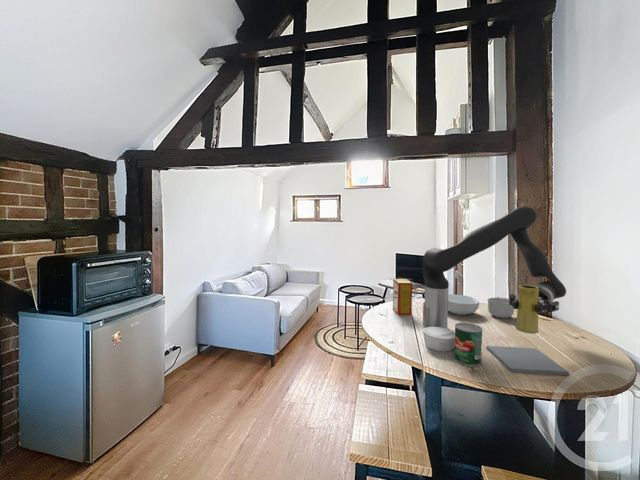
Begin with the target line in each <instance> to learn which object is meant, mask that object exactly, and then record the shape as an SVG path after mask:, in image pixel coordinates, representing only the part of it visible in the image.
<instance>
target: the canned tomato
mask: <svg viewBox="0 0 640 480" xmlns="http://www.w3.org/2000/svg"><path fill="white" fill-rule="evenodd" d="M454 332H455V342H454V343H455V344H454V348H453V351H454V352H453V360H454V361H455V362H457V363H459V364H462V365H464V366H469V367H478V366H480V365H481V364H482V345H483V328H482V327H481V326H479V325H477V324H474V323H467V322H457V323H455V325H454Z"/></svg>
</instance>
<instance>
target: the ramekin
mask: <svg viewBox="0 0 640 480" xmlns="http://www.w3.org/2000/svg"><path fill="white" fill-rule="evenodd" d="M422 334H423V339H424V345H425V346H426V347H427V348H428V349H431V350H433V351H435V352H436V351H437V352H450V351H452V350H454V344H455V343H454V342H455V331H454V330H451V329H449V328H447V329H446V328H441V327H427V328H425V327H424V328H423V329H422Z"/></svg>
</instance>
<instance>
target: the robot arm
mask: <svg viewBox="0 0 640 480" xmlns="http://www.w3.org/2000/svg"><path fill="white" fill-rule="evenodd" d="M537 217H538V215H537V211H535V209H534V208H532V207H529V206H519V207H516V208H514V209H513V210H512V211H510V212H508V213H507V214H506V215H504V216H502V217H501V218H498V219H496V220H493V221H491V222H489V223H487V224H484V225H481V226H480V227H478V228H476V229H474V230H471V231H470V232H468V233H467V234H465V236H463V238H462V239H461V241H460V242H459V243H457V244H454V245H452V246H449V247H447V248H445V249H442V248H441V249H440V248H433V247H432V248H429V249H427V250H426V251H425V253H424V255H423V258H422V275H423V280H424V301H423V303H422V307H423V308H422V324H423V326H424V328H427V327H441V328H446V329H448V323H449V322H448V319H449V317H448V316H449V311H448V295H449V286H450V284H449V283H450V282H449V280H448V279H447V278H446V277H445V274H444V272H448V271H450V270H451V269H452V268H453V269H454V267H456V266H457V265H458V264H459V265H460V263H461V262H463V261H465V260H467V259H469V258H471V257H474V256H475V255H477V254H479V253H481V252H484V251H485V250H487V249H489V248H491V247H493V246H495V245H496V244H498V243H499V242H500V241H502V240H503V239H504V238H506V237H507V236H509V235H510V236H511V238H512V239H513V241H514V242H515V244H516V245H517V247H518V249H519V251H520V253H521V255H522V257H523V259H524V261H525V263H526V266H527V270H528V271H529V273H530V276H531V277H533V278H546V279H548V280H545V281H542V282H537V283H534V284H532V285H531V286H536V287H538V288H539V296H538V305H537V306H536V313H538V314H540V313H543V312H545V311H547V312H548V313H553V312H557V311H559V310H560V302H559V301H554V300H555V299H560V298H563V297H565V296H566V294H567V289H566V287H565V285H564V284H563V282H561V280H560V279H559V278H558V276H556V274H555V273H554V272H553V270H552V268H551V266H550V264H549V261H548V259H547V257H546V255H545V254H544V252H543V251H542V250H541V248H539V247H538V246H537V245H536V244H535V243H533V241H532V240H531V238H530V236H529V233H528V231H527V230H528V229H529V228H530V227H531V226H533V224H535V222H536V220H537ZM508 299H509V305H512V307H513V308H514V310H515V309H516V310H517V307H518V296H516V295H515V294H510V295H509V298H508Z"/></svg>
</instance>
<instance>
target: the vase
mask: <svg viewBox="0 0 640 480" xmlns="http://www.w3.org/2000/svg"><path fill="white" fill-rule="evenodd" d="M538 296H539V288H538V287H536V286H532V285H529V284H520V285H518V296H517V297H518V307H517V309H516V323H515V329H516V330H517V331H518V332H522V333H525V334H530V335H532V334H538V333H539V332H540V331H539V313H536V306H537V305H538Z"/></svg>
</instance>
